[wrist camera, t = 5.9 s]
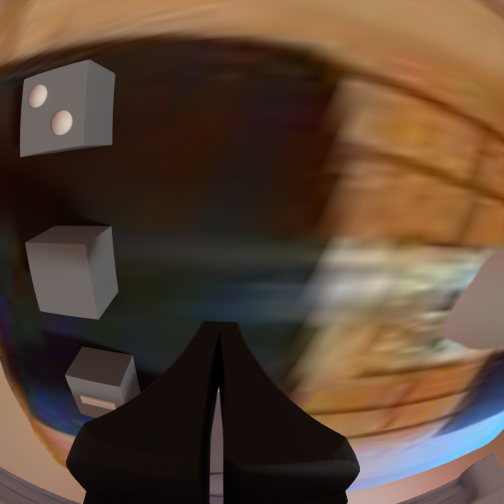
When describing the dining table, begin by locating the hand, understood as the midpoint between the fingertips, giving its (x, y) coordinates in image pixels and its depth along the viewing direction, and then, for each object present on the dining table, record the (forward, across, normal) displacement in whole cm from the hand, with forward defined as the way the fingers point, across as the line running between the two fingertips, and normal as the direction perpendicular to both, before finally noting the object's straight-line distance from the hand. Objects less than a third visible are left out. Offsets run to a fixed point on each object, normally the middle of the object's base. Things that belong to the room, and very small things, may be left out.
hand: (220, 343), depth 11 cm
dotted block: (+10, +11, -10) cm, 17 cm away
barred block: (+10, +10, +12) cm, 18 cm away
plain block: (+10, +10, +1) cm, 14 cm away
